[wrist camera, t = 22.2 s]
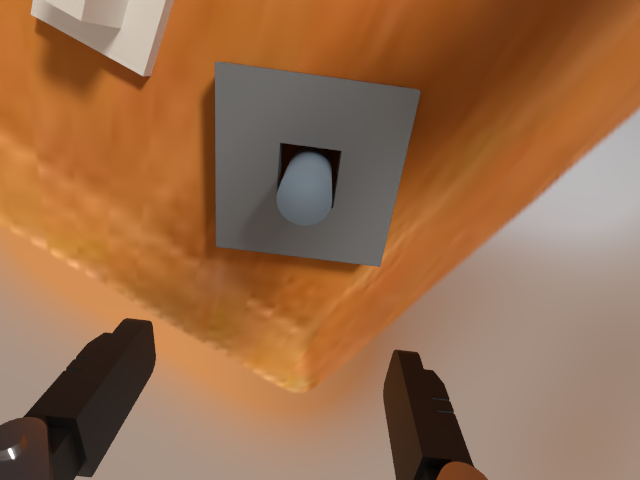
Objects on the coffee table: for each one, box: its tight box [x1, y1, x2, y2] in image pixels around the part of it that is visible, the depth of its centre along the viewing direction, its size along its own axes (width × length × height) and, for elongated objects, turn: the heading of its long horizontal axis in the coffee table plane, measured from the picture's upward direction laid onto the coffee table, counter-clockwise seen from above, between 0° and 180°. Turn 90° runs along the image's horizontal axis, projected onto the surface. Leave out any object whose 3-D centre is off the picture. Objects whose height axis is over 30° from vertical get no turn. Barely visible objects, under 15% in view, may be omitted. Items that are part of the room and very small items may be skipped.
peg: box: [276, 146, 332, 226], centre depth 29 cm, size 4×4×9 cm
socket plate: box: [215, 62, 421, 267], centre depth 32 cm, size 16×16×3 cm
